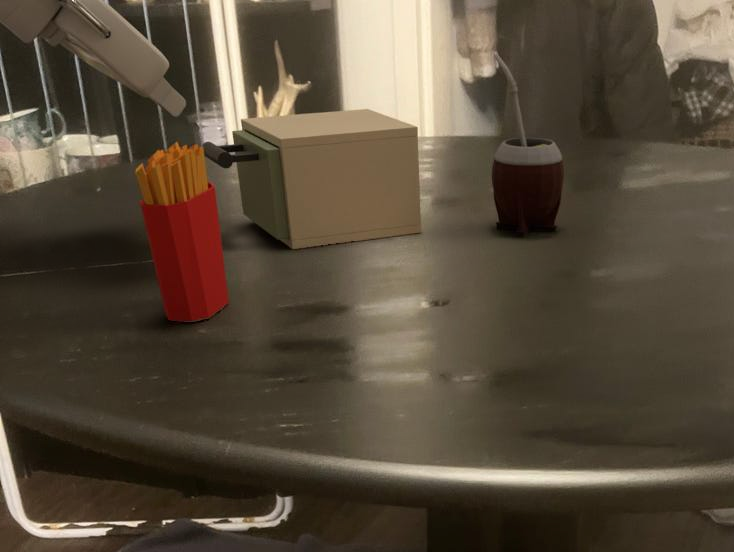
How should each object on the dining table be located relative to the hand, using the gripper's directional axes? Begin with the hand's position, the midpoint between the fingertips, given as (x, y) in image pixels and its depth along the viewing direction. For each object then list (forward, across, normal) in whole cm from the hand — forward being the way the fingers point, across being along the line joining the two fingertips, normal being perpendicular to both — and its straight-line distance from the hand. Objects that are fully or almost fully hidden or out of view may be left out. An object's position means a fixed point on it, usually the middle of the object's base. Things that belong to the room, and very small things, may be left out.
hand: (178, 108), depth 89 cm
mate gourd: (+30, -11, -13) cm, 34 cm away
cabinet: (+18, -1, -2) cm, 18 cm away
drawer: (+15, -1, 0) cm, 15 cm away
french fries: (+4, -21, +12) cm, 25 cm away
